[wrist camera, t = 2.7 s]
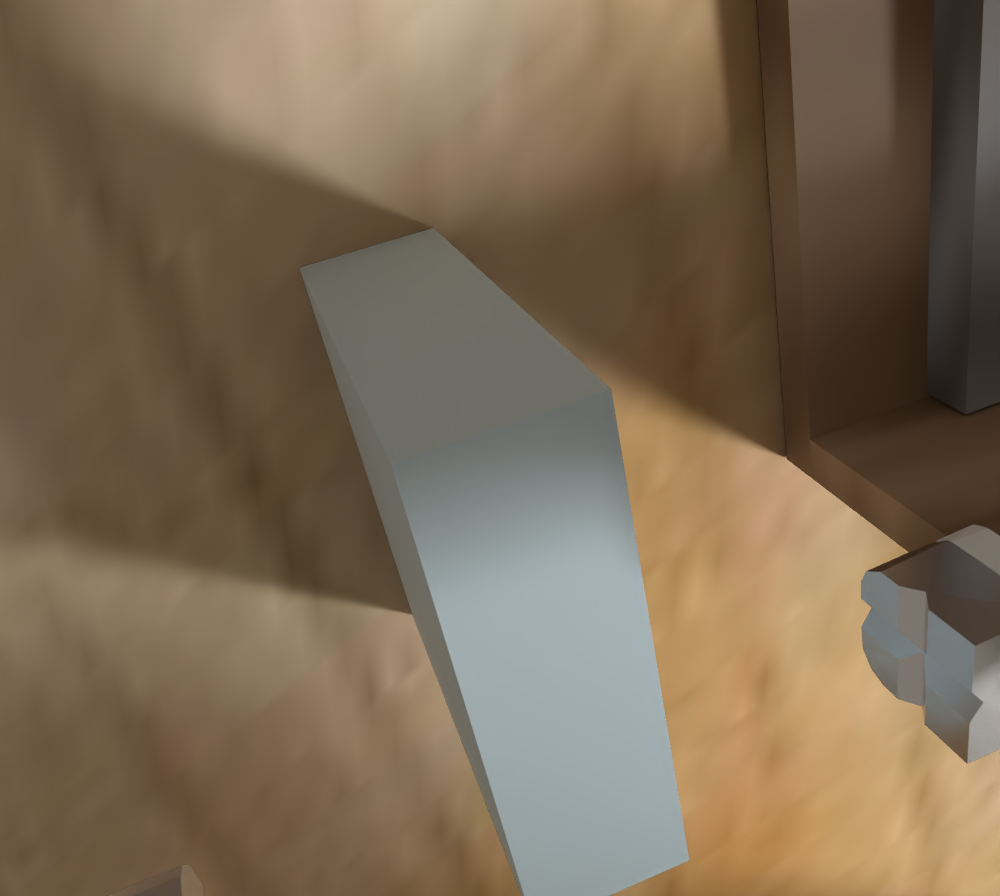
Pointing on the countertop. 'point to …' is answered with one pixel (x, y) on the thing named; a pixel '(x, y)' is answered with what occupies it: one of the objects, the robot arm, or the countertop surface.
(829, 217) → the cabinet
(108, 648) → the countertop surface
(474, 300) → the door panel
